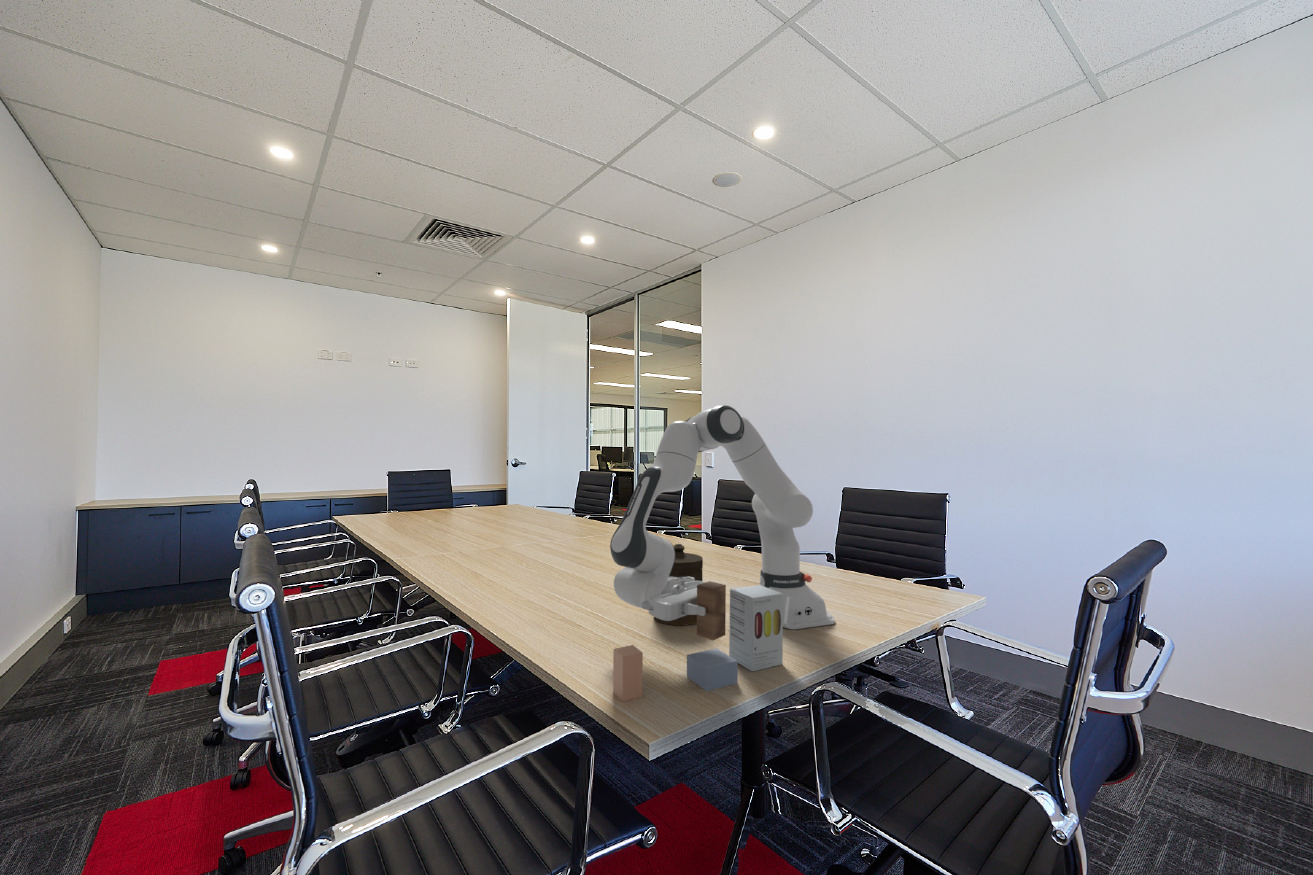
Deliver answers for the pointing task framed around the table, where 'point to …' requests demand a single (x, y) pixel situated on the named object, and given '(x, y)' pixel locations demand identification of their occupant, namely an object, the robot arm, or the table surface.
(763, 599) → the supplement box
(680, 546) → the wooden container
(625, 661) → the terracotta post
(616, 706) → the table surface
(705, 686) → the slate block
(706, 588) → the walnut post
